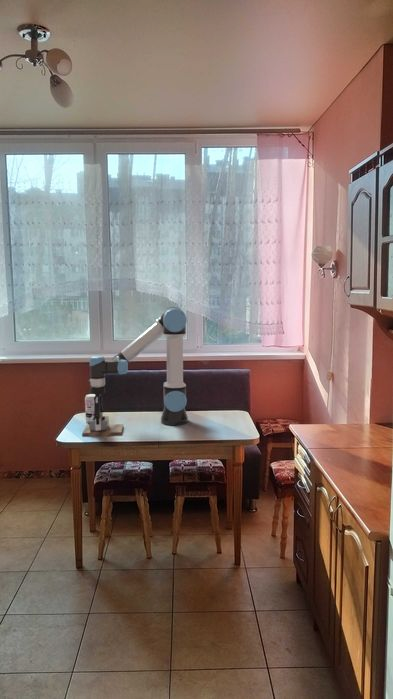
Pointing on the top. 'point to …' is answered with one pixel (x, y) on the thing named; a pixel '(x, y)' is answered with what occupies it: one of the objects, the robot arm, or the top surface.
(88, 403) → the supplement can
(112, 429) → the keeper plate
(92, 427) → the grey square socket block
